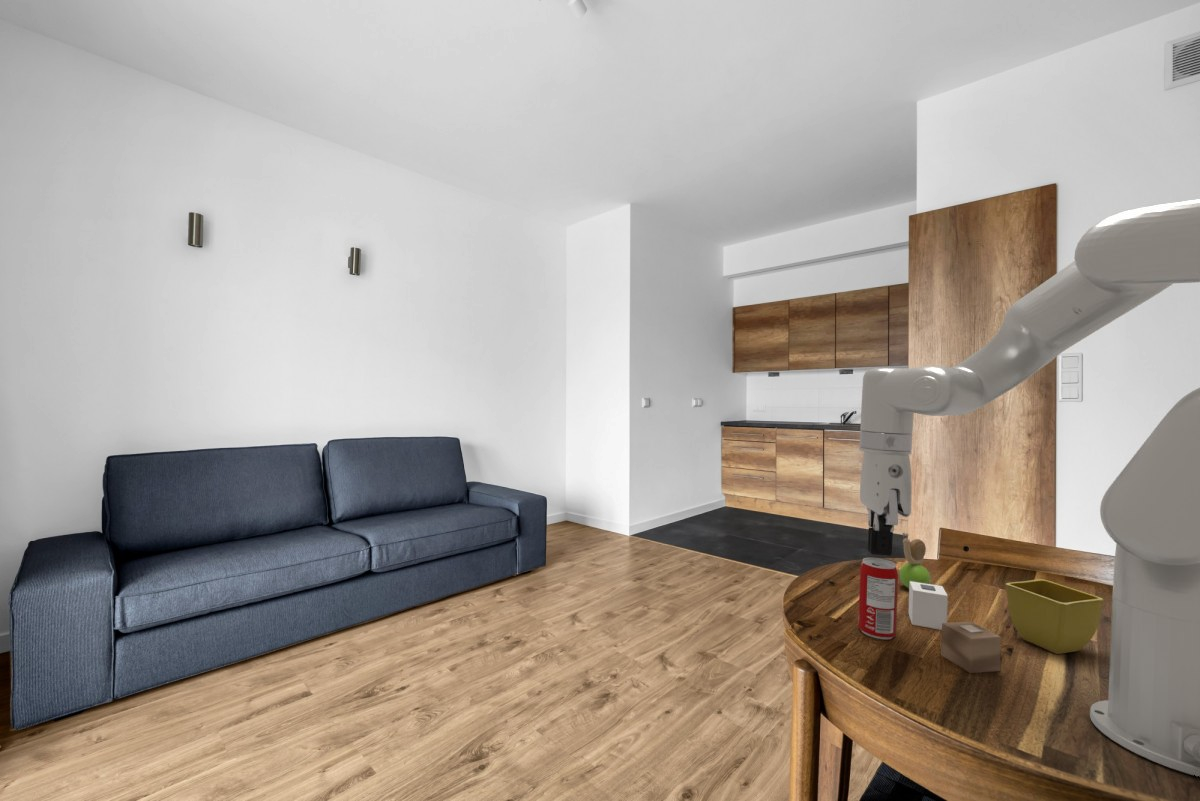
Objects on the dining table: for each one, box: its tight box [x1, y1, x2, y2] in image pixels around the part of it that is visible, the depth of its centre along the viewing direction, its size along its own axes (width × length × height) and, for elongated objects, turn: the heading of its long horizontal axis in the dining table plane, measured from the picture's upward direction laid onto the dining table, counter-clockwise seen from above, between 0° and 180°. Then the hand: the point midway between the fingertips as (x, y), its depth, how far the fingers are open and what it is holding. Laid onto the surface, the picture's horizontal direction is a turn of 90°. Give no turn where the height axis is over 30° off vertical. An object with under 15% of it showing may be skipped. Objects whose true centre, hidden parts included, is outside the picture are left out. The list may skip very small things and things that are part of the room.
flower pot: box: [1005, 578, 1104, 655], centre depth 81 cm, size 9×9×9 cm
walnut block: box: [940, 621, 1002, 674], centre depth 75 cm, size 5×5×5 cm
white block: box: [908, 581, 949, 631], centre depth 89 cm, size 5×5×6 cm
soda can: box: [857, 557, 899, 641], centre depth 84 cm, size 6×6×12 cm
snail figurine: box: [898, 532, 932, 589], centre depth 104 cm, size 5×6×12 cm
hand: (879, 553), depth 84 cm, fingers closed
